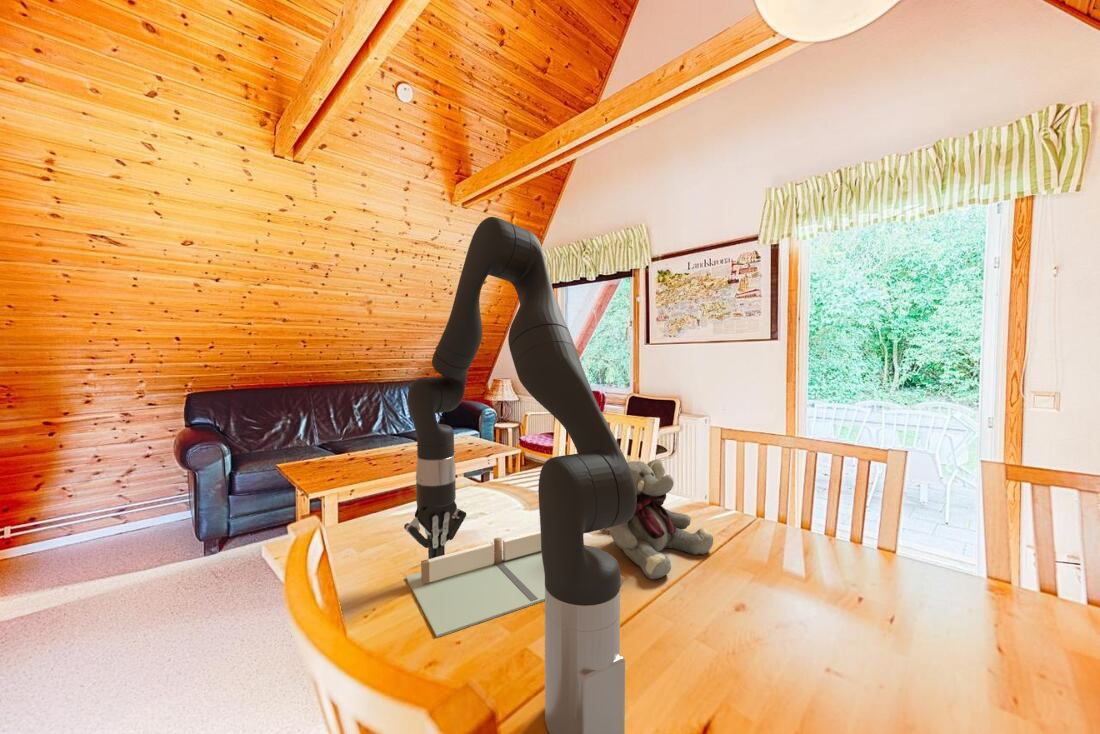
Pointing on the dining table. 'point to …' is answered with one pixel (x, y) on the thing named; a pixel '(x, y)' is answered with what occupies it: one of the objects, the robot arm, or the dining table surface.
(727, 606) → the dining table surface
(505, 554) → the fence fixed
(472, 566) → the gate
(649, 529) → the plush elephant
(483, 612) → the board
